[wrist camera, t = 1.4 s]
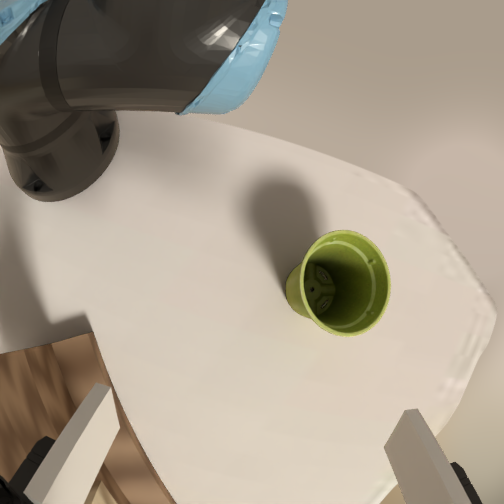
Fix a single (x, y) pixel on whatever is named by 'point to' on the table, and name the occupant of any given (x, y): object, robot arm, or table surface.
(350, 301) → the plant pot
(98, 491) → the plain block
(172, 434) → the table surface
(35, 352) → the digit board
